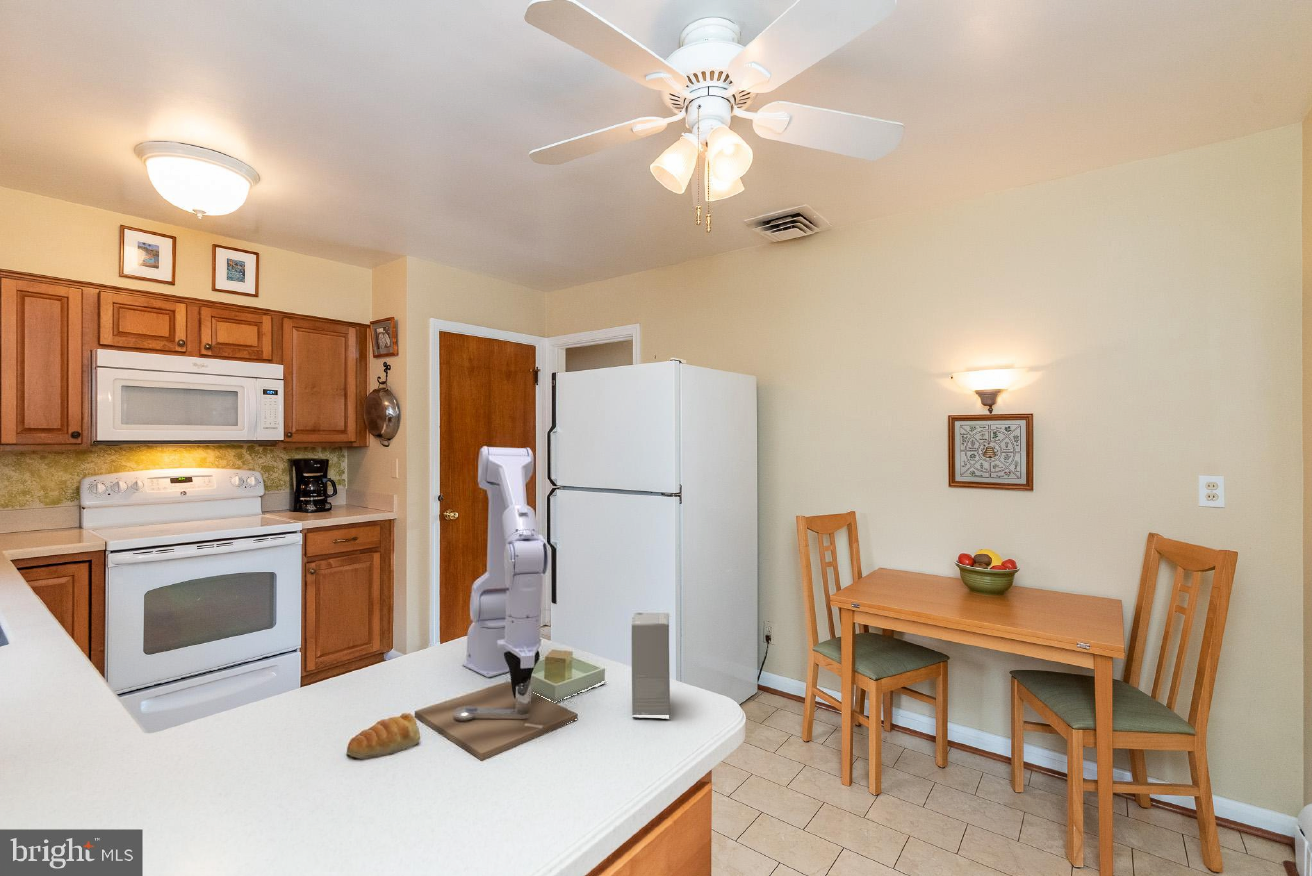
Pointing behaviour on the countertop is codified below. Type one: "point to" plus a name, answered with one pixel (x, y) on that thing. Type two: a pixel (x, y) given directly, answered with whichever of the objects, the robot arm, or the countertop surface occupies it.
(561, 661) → the block
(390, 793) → the countertop surface
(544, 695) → the tray
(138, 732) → the countertop surface
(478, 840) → the countertop surface
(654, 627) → the skincare box
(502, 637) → the robot arm
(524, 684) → the crank
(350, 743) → the pastry
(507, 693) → the crank plate
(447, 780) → the countertop surface
